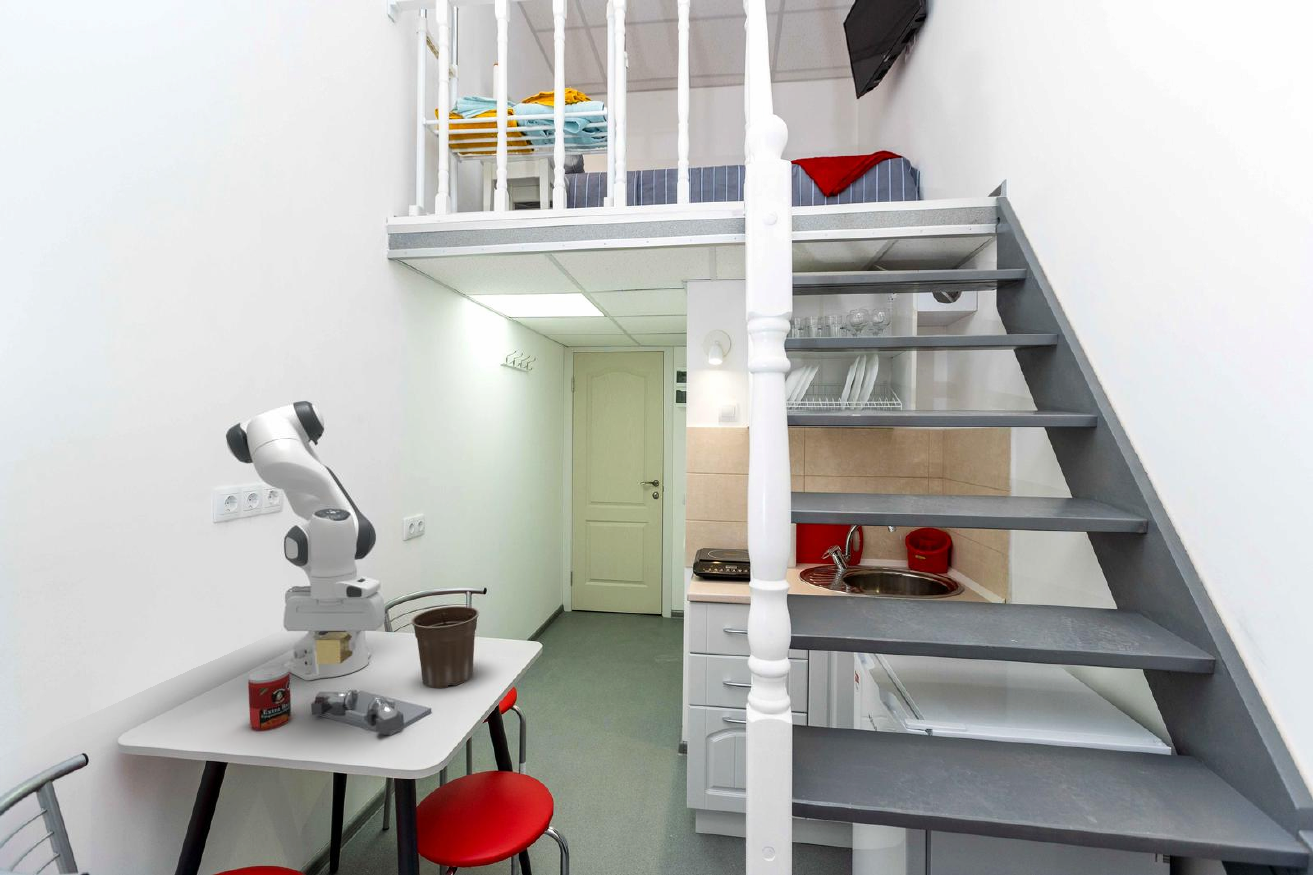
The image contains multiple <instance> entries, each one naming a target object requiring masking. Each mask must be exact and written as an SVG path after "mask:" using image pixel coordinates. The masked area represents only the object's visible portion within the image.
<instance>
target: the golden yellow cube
mask: <svg viewBox="0 0 1313 875" xmlns="http://www.w3.org/2000/svg"><path fill="white" fill-rule="evenodd" d="M351 637H352V636H350V634H349V632H328V633H327V634H325V635H324V636H322V637H321V638H319V639H318V640H316V653H317V664H341V663H342V662H344V661H345V660H346V659H348V658H349V657H350V656H351V655H353V652H352V651H345V643H346V642H347V641H350V639H351Z"/></svg>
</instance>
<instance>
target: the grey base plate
mask: <svg viewBox="0 0 1313 875" xmlns="http://www.w3.org/2000/svg"><path fill="white" fill-rule="evenodd" d="M357 693H358V700H357V703H356V706H355V707H354V708H353V709H351V710H347V711H345V715H343V716H333V707H332V708H331V709H330V710H328V711H327V712H325V713H324V714H323V715H319V716H320V717H323V718H328V719H332V720H334V721H338V722H342V723H344V724H345V723H346V724H349V725H352V726H356V727H359V728H363V729H367V730H370V731H374V732H377V731H376V725H374V726H371V725H370V724H368V723H367V711H368V705H369V703H370V702H371V700H373V699H374V698H376V697H379V696H381V697H384V698H385V699H386V700H387V701H388V704H391V705H392V706H394V710H395V711H400V712H401V713H402V714H403V718H404V726H403V727H400V728H397V729H394V730H392V731H389V732H386V733H383V735H387V736H393V735H394V734H396V733H398V732H399V731H402V730H403V729H405V728H407V727H408V726H411V725H412V724H414V723H416V722H418V721H419V720H421V719H423V718H424V717H427V716H428V715H429V714H431V713H432V707H428V706H425V705H420V704H416V703H412V702H408V701H405V700H399V699H396V698H392V697H388V696H383V695H381V694H380V695H379V694H375V693H372V692H367V691H363V690H360V691H357Z"/></svg>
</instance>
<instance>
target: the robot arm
mask: <svg viewBox="0 0 1313 875" xmlns="http://www.w3.org/2000/svg"><path fill="white" fill-rule="evenodd" d="M324 432H325V419H324V417H323V415H322V412H321V411H320V409H319V408H317V407H316V406H315V405H314V404H313V402H310V401H307V400H303V401H301V400H300V401H296V402H295V401H294V402H293V403H292V404H289V405H284V406H281V407H277V408H276V407H275V408H273V409H271V410H267V411H266V412H263V413H261V414H257V415H256V416H254V417H251V418H250V419H248V420H246V421H244V422H241V423H240V422H239V423H237V424H234V425H233V426H232V427H230V428H229V429H228V430H227V431H226V434H225V438H226V446H227V449H228V451H229V453H230V454H232V456H233V457H235V458H236V459H237V460H238V461H239V462H241V463H244V464H253V467H254V468H255V471H256V474H257V475H258V476H259V478H260V479H261V480H262V481H263V482H264V483H265V484H267V485H268V486H271V487H273V488H275V489H279V490H282V491H283V493H284V494H285V497H286V499H287V501H288V503H289V505H290V508H291V509H292V511H293V513H294V514H295V515H296V516H298V517H300V518H301V519H304V520H305V522H302V523H299V524H296V525H293V526H292V527H291V528H290V529H289V531H287V533H285V534H286V535H285V536H284V538H283V551H284V556H285V559H286V560H287V561H288V562H290V563H291V564H292V565H294V566H296V567H299V568H300V569H301V570H303V571H304V572H305V574H306V575H307V576H306V577H307V579H308V580H309V584H310V585H305V586H299V585H294V586H291V588H289V589H288V590H287V591H286V592H285V593H284V603H285V607H284V612H283V613H284V614H283V628H284V629H285V630H286V632H308V633H306V634H305V635H304V636H303V637H301V639H300V640H298V641H297V642H296V643H295V644H294V647H293V654H292V655H293V659H291V660H288V661H287V662H285V663H284V664H283V667H288V668H289V672H290V673H291V674H292V675H295V676H297V677H298V678H301V679H302V680H304V681H312V680H318V679H324V678H334V677H340V676H343V675H348V674H351V673H354V672H357V671H359V670H361V669H363V668H365V667H366V666H367V665H368V664H369V662H370V661H369V658H371V651H369V650H368V646H367V638H366V632H367V631H368V632H369V631H370V632H372V631H373V632H375V631H376V630H379V628H381V627H382V626H383V625H384V623H385V621H386V614H385V612H386V611H385V603H384V602H385V601H384V597H383V595H382V594H381V593H380V592H378V591H379V590H381V581H379V580H377V579H375V578H370V577H368V576H365V575H362V574H359V573H358V568H357V565H356V561H357V560H363V559H364V558H366V557H367V556H368V555H369V554H370V553H371V551H372V550H373V548H374V546H375V544H376V542H377V540H376V539H377V534H376V530H375V528H374V525H373V524H372V523H371V521H370V520H369V519H368V518H367V517H366V516H365V515H364V514H363V513H362V512H361V511H360V509H359V508H358V507H357V505H356V504H355V502H354V500H352V498H351V497H350V494H349V493H348V492H347V490H346V489H345V487H344V485H343V484H342V483H341V481H340V480H339V478H338V477H337V476H336V474H335V473H334V472H333V471H332V469H331V468H330V467H329V466H326V465H324V464H323V463H322V461H321V459H320V457H319V456H318V454H317V453H316V452H315V450H314V448H312V446H311V445H310V442H313V444H314V445H315V446H317V445H318V444H319V442H318V441H319V439H320V438H322V437H323V434H324ZM328 632H349V634H350V636H352V637H351V639H350V641H347V642H346V643H345V651H352V652H353V655H351V656H350V657H349V658H348V659H346V660H345V661H344V662H342V663H341V664H317V653H316V640H318V639H319V638H321V637H322V636H324V635H325V634H327V633H328Z"/></svg>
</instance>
